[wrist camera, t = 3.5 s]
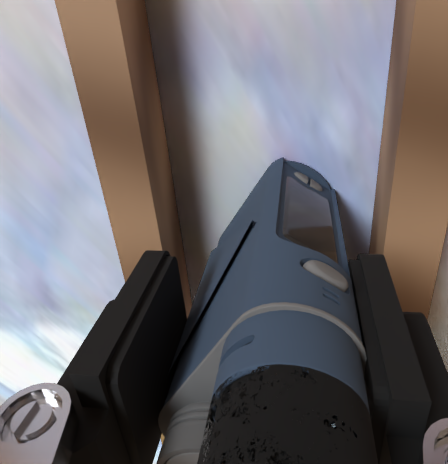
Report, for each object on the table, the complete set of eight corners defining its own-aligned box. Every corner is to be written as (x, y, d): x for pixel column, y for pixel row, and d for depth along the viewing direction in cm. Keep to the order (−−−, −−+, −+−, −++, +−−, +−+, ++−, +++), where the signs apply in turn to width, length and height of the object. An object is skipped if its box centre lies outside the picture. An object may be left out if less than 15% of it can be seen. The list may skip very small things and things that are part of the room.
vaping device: (353, 182, 13) (589, 1006, 2) (261, 289, 15) (180, 894, 5) (283, 138, 12) (195, 868, 2) (202, 255, 15) (-17, 829, 5)
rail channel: (67, -120, 10) (-14, -160, 7) (494, -189, 8) (582, -274, 6) (189, 463, 22) (175, 525, 19) (375, 484, 20) (386, 555, 17)
